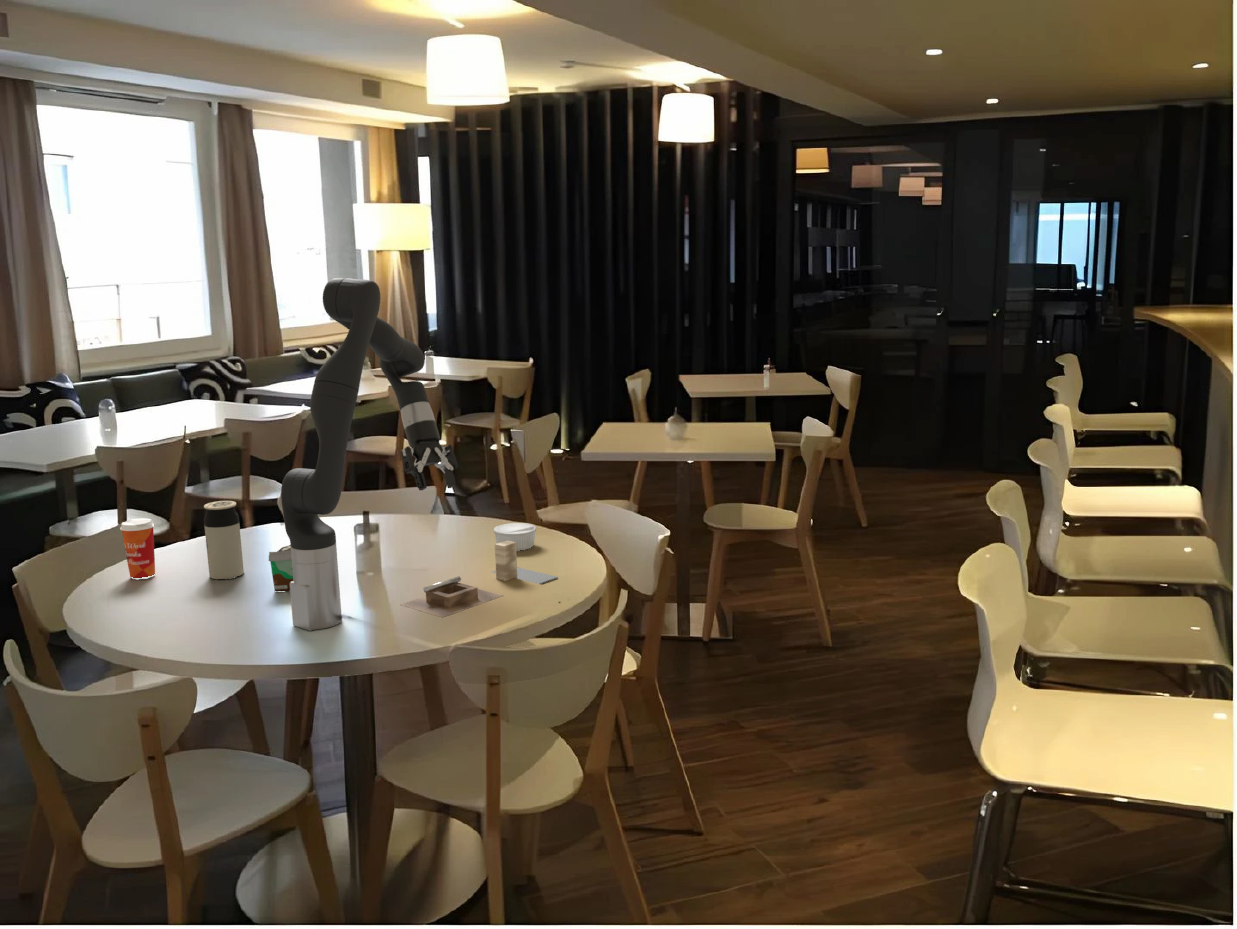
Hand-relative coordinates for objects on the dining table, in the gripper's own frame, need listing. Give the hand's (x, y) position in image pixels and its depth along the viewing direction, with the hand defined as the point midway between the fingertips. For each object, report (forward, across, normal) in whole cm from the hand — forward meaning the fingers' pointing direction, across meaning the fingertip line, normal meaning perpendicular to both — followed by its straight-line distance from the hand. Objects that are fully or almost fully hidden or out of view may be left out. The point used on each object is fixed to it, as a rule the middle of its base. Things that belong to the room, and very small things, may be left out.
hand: (437, 488), depth 253 cm
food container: (+12, -23, +32) cm, 41 cm away
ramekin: (+14, +32, +14) cm, 38 cm away
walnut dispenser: (+28, -9, -4) cm, 30 cm away
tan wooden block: (+25, +10, -3) cm, 27 cm away
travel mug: (+2, -28, +52) cm, 59 cm away
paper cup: (-4, -42, +66) cm, 78 cm away
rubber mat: (+25, +10, -3) cm, 27 cm away
